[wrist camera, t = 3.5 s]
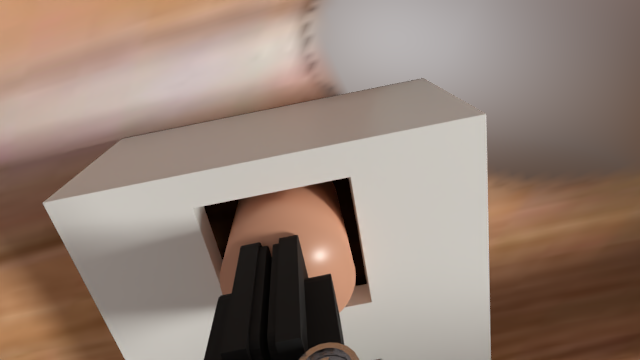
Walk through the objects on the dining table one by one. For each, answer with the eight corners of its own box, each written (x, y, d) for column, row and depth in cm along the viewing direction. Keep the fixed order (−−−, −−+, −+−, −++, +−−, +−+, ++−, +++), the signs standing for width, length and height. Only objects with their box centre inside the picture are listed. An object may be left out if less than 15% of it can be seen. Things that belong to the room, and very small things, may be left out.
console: (423, 78, 17) (486, 114, 12) (451, 421, 26) (494, 534, 20) (121, 138, 17) (42, 202, 12) (252, 459, 26) (241, 580, 21)
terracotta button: (328, 149, 16) (344, 209, 11) (345, 236, 17) (364, 319, 13) (227, 169, 16) (202, 237, 11) (253, 254, 17) (240, 343, 13)
